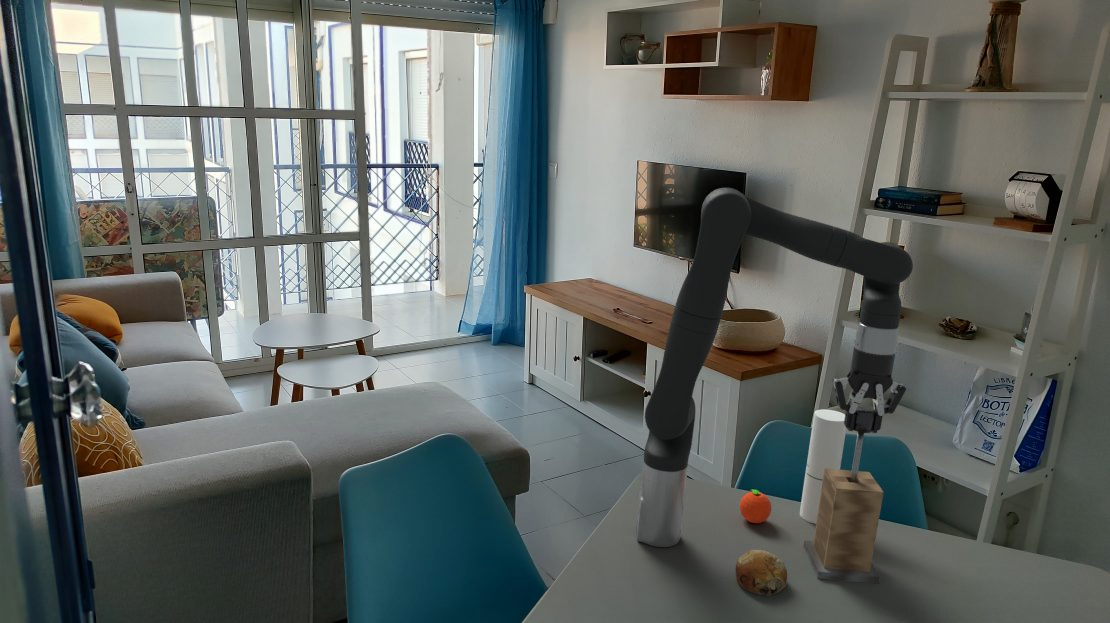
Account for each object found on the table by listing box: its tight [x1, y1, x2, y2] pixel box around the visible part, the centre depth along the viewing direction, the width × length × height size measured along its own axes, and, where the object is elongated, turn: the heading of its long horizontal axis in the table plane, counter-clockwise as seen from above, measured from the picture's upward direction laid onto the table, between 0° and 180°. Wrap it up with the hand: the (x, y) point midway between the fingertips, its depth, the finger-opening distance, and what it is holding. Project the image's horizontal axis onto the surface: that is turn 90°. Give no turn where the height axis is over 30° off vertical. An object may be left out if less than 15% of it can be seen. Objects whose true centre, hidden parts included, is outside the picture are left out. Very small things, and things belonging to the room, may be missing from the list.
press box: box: [803, 469, 884, 584], centre depth 162 cm, size 12×12×19 cm
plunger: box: [850, 405, 875, 483], centre depth 159 cm, size 7×7×24 cm
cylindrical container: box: [799, 409, 847, 525], centre depth 181 cm, size 7×7×25 cm
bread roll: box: [735, 549, 788, 597], centre depth 157 cm, size 10×10×8 cm
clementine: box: [739, 489, 772, 524], centre depth 180 cm, size 8×7×7 cm
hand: (861, 430), depth 157 cm, fingers closed on plunger, 4 cm apart
